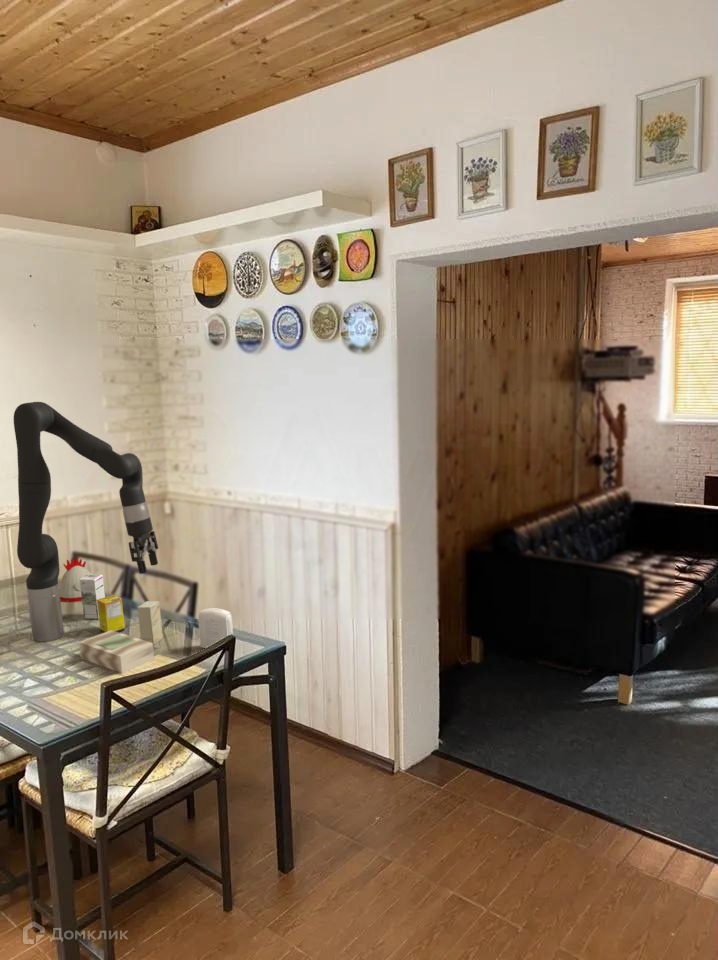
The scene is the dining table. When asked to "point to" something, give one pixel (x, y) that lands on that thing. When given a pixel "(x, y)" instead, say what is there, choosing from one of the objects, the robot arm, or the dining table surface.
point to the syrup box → (91, 594)
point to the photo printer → (214, 625)
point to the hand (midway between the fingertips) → (149, 568)
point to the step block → (116, 651)
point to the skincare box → (150, 621)
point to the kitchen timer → (72, 581)
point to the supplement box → (111, 614)
